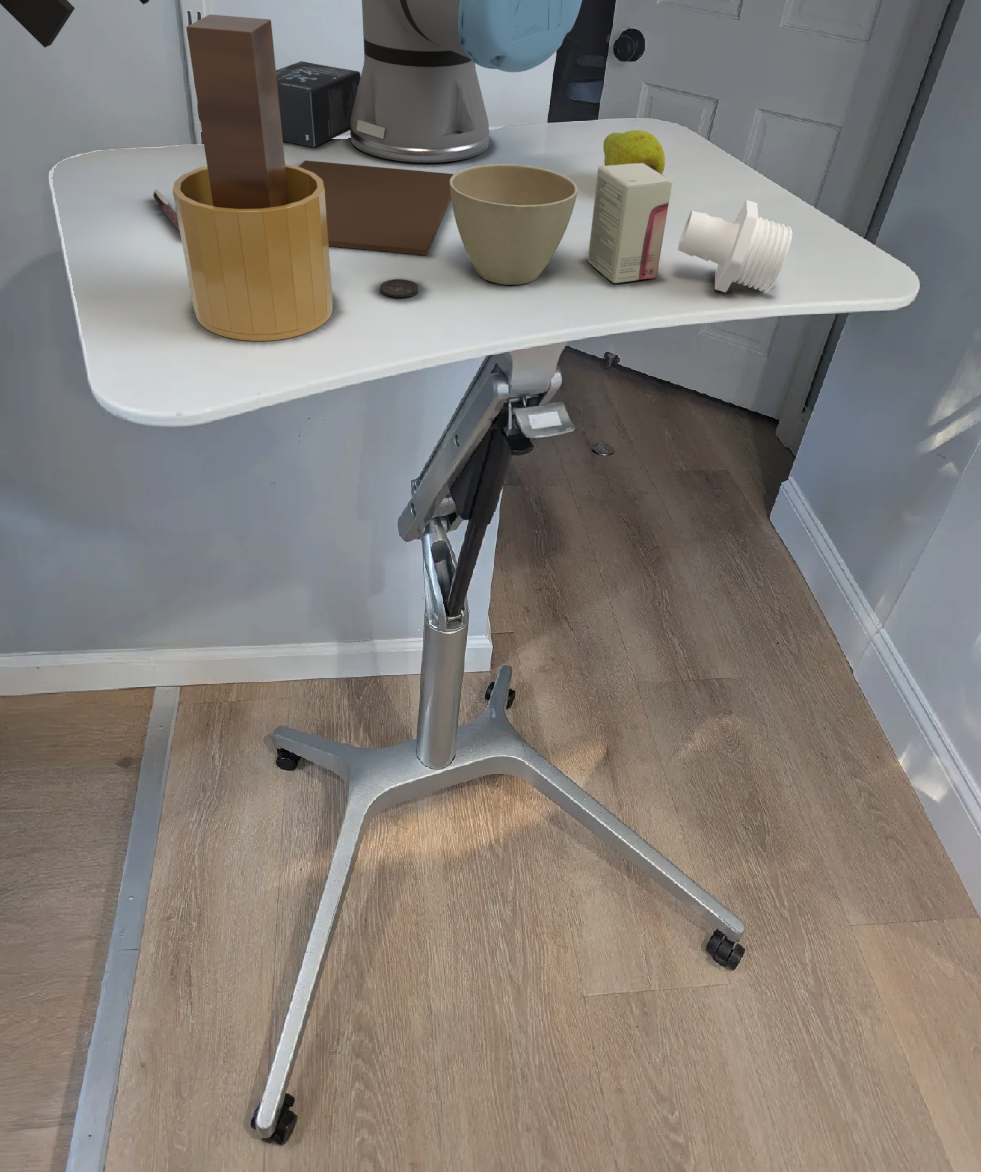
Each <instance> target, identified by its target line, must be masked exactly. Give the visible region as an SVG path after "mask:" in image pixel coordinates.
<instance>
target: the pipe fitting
mask: <svg viewBox="0 0 981 1172" xmlns="http://www.w3.org/2000/svg"><path fill="white" fill-rule="evenodd" d="M736 216H737V217H736V218H735V220H734V222H732V221H728V220H727V221H726V220H724V218H721V217H716V216H712V215H709V213H705V212H701V211H695V210H691V211H690V212H689V215H688V216H687V219H686V222H685V224H684V227H683V230H682V233H681V236H680V239H679V242H678V247H677V250H678V251H679V252H681V253H684V254H686V255H688V256H690V257H697V258H699V259H701V260H704V261H706V262H709V261H710V262H712V263H715V264H717V267H716V270H715V273H714V290H715V291H719V292H722V293H724V294H725V293H727V292H728V290H729V288H730V286H731V285H732V283H737V284H738V285H741V284H742V286H744V287H746V286H747V288H750V289H751V288H752V289H754V290H758V291H759V292H764V293H767V292H769V291H770V290H771V289H772V287H773V286H774V285H775V283H776V282H777V279H778V278H779V275H780V273H781V271H782V269H783V266H784V264H785V262H786V259H787V256H788V254H789V250H790V247H791V244H792V241H793V240H792V239H793V230H792V227H791V226H790V225H787V226H786V224H783V223H782V224H780V223H779V222H775V221H773V220H769V219H767V218H763V217H762V216H759V209H758V202H755V201H752V200H748V199H745V201H744V202H743V205H742V206H741V208H740V210H739V212H738V214H737V215H736Z"/></svg>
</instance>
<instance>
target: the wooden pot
mask: <svg viewBox="0 0 981 1172" xmlns="http://www.w3.org/2000/svg"><path fill="white" fill-rule="evenodd" d="M285 170H286V180H287V190H288V201H289V204H287V205H284V206H277V207H270V208H262V209H232V208H222V207H214V206H213V201H212V194H211V187H210V181H209V174H208V168H207V165H206V166H201V167H198V168H195V169H192V170H190V171H188V172H185V173H183V174H182V175H181V176H179V177H178V178H177V179H176V180H175V181H174V182H173V186H172V195H173V200H174V206H175V213H176V214H177V218H178V224H179V229H180V231H179V235H180V239H181V246H182V251H183V256H184V262H185V267H186V272H187V279H188V284H189V285H188V286H189V290H190V295H191V296H190V297H191V300H192V307H193V311H194V313H195V317H196V320H197V321H198V323H199V324H200V325H201V326H202V327H203V328H204V329H206V330H207V331H209V332H212V333H213V334H216V335H218V336H221V337H225V338H228V339H233V340H239V341H251V342H267V341H278V340H286V339H291V338H294V337H299V336H302V335H306V334H308V333H310V332H313V331H315V330H317V329H318V328H320V327H322V326H323V325H324V324H325V323H326V322H328V321H329V319H330V318H331V316H332V314H333V309H334V308H333V304H334V303H333V288H332V274H331V273H332V272H331V263H330V262H331V261H330V246H329V245H328V231H327V216H326V202H325V188H324V183H323V180H322V179H321V178H320V177H319V176H317V175H316V174H315V173H313V172H311V171H308V170H306V169H303V168H300V167H299V166H297V165H291V164H286V163H285Z"/></svg>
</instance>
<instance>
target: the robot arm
mask: <svg viewBox="0 0 981 1172" xmlns="http://www.w3.org/2000/svg"><path fill="white" fill-rule="evenodd" d="M139 2H140V3H141V4H142V5H146V4H148V3H149V2H150V0H139ZM582 3H583V0H361V10H362V14H361V15H362V35H363V66H362V69H361V73H360V74H361V78H360V82H359V86H358V90H357V94H356V98H355V102H354V106H353V110H352V114H351V121H350V122H351V124H350V130H349V132H350V133H349V134H350V141H351V143H352V145H353V146H354V147H356V148H357V149H358V150H360V151H361V152H364V153H365V154H368V155H372V156H375V157H377V158H382V159H386V160H393V161H398V162H407V163H425V164H426V163H428V164H429V163H430V164H432V163H433V164H434V163H447V162H455V161H456V162H457V161H462V160H467V159H470V158H472V157H477V156H478V155H480V154H482V153H484V152H485V151H486V150H487V149H488V148H489V145H490V127H489V126H490V125H489V124H490V123H489V119H488V115H487V109H486V106H485V102H484V97H483V94H482V89H481V86H480V82H479V78H478V74H477V69H476V65H477V66H480V67H482V68H485V69H489V70H490V69H492V70H499V71H502V72H506V73H521V72H527V71H530V70H533V69H534V68H536V67H538V66H540V65H542V64H543V63H545V62H546V61H548V59H549V58H551V57H552V56H553V55H554V54H555V53H556V52H557V51H558V50H559V49H560V47H561V46H562V44H563V42H564V39H565V37H566V36H567V34H568V33H570V32H571V31H572V29H573V28H574V25H575V23H576V20H577V18H578V16H579V13H580V9H581V7H582ZM0 5H1V6H2V8H4V10H6V11H7V13H9V14H10V15H11V16H12V17H13V18H14V19H15V20H16V21H17V22H18V23H19V24H20V25H21V26H22V27H23V28H24V29H25V30H26V31H27V32H28V33H29V34H30V35H31V37H33V38H34V39H35V40H36V41H37V42H38V43H39V44H40V45H41V46H42V47H43V48H44V49H45V48H47V47H50V46H52V44H53V43H54V42H55V40H56V38H57V37H58V35H59V34H60V32H61V30H62V29H63V28H64V26H65V24H66V23H67V21H68V20H69V18H70V17H71V15H72V14H73V11H75V9H76V8H75V7H74V5H73V4H72V3H70V2H69V0H0Z"/></svg>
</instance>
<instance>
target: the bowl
mask: <svg viewBox="0 0 981 1172" xmlns="http://www.w3.org/2000/svg"><path fill="white" fill-rule="evenodd" d="M453 174H454V175H453V176H452V177H451V178H450V193H451V200H450V202H451V207H452V211H453V215H454V220H455V225H456V228H457V230H458V233H459V237H460V240H461V242H462V245H463V246H464V249H465V251H466V253H467V255H468V258H469V259H470V262H471V264H472V265H473V267H474V269H475V270H476V272H477V273H478V275H479V276H480V277H481V278H482V279H484V280H486V281H489V282H491V283H495V284H499V285H506V286H507V285H509V286H511V285H512V286H514V285H515V286H516V285H524V284H529V283H531V282H533V281H535V280H537V278H538V277H539V276H540V275H541V273H542V272H543V271H544V269H545V268H546V267H547V265H548V264H549V262H550V261H551V259H552V258H553V257H554V254H555V253H556V251H557V250H558V247H559V245H560V243H561V241H562V240H563V238H564V235H565V233H566V231H567V228H568V226H569V223H570V220H571V217H572V214H573V212H574V208H575V205H576V200H577V196H578V192H579V189H578V185H577V184H576V182H575V181H574V180H572V179H571V178H569V177H568V176H566V175H563V174H561V173H558V172H556V171H553V170H550V169H546V168H542V167H538V166H533V165H524V164H516V163H515V164H514V163H487V164H480V165H474V166H470V167H467V168H463V169H461V170H458V171H457V172H455V173H453Z"/></svg>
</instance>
